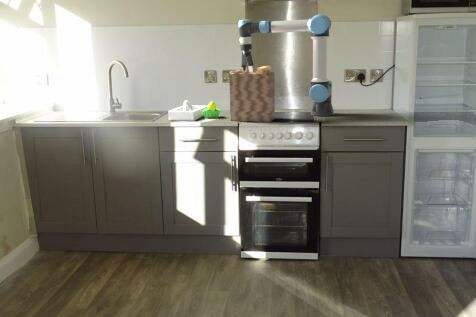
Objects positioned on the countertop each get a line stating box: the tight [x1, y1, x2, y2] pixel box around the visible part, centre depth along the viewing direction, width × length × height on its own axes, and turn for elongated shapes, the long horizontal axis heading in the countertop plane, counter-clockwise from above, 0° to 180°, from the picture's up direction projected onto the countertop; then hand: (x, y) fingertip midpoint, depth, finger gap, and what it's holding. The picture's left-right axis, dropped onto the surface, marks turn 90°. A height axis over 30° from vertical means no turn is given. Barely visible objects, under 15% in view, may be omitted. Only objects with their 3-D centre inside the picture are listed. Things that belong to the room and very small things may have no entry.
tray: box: [167, 105, 208, 122], centre depth 346 cm, size 17×28×6 cm, turn 164°
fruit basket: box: [202, 100, 221, 119], centre depth 342 cm, size 11×9×11 cm
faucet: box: [183, 99, 193, 111], centre depth 348 cm, size 14×11×20 cm
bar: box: [256, 65, 272, 74], centre depth 325 cm, size 4×24×4 cm, turn 164°
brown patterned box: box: [228, 69, 276, 123], centre depth 327 cm, size 26×14×32 cm, turn 74°
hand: (248, 76), depth 339 cm, fingers open, 13 cm apart
